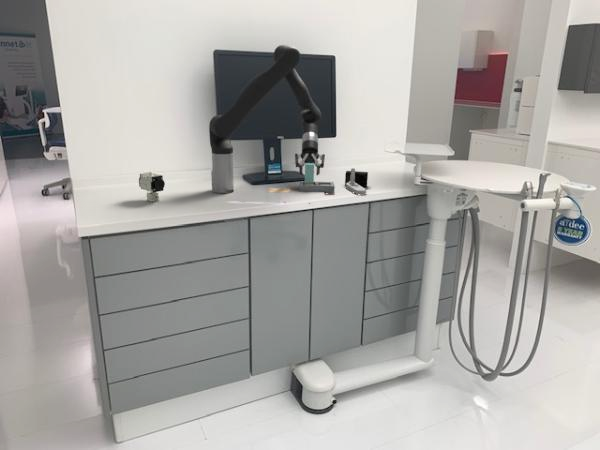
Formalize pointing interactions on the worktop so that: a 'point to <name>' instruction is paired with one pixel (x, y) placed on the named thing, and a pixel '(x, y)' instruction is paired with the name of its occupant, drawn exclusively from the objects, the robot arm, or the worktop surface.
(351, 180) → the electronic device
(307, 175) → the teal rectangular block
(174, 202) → the worktop surface
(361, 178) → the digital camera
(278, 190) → the deck
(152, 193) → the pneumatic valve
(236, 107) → the robot arm
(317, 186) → the port block
